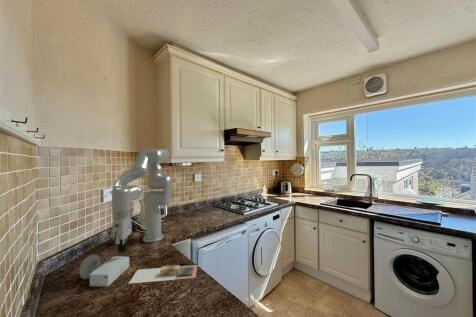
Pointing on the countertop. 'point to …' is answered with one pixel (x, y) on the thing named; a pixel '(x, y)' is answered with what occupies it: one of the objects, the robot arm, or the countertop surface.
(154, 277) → the board
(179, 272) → the turner
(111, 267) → the skincare box
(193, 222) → the countertop surface
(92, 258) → the donut
